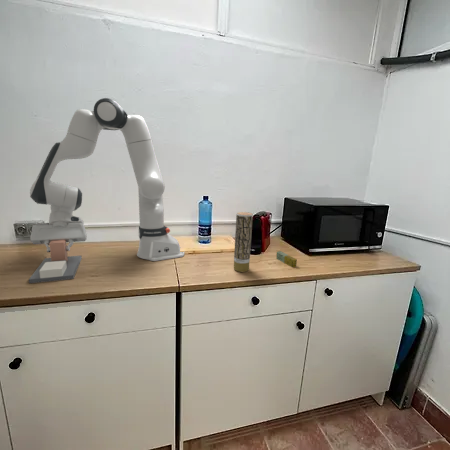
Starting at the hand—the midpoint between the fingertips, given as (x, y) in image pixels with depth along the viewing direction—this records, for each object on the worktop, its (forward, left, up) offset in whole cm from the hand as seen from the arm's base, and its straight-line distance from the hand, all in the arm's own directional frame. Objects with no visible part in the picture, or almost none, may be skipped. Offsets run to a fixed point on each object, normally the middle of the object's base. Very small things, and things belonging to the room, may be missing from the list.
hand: (58, 251), depth 109 cm
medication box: (-97, +20, -7) cm, 100 cm away
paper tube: (-73, +22, -7) cm, 77 cm away
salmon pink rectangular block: (0, -1, -5) cm, 5 cm away
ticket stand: (0, +3, -7) cm, 7 cm away
